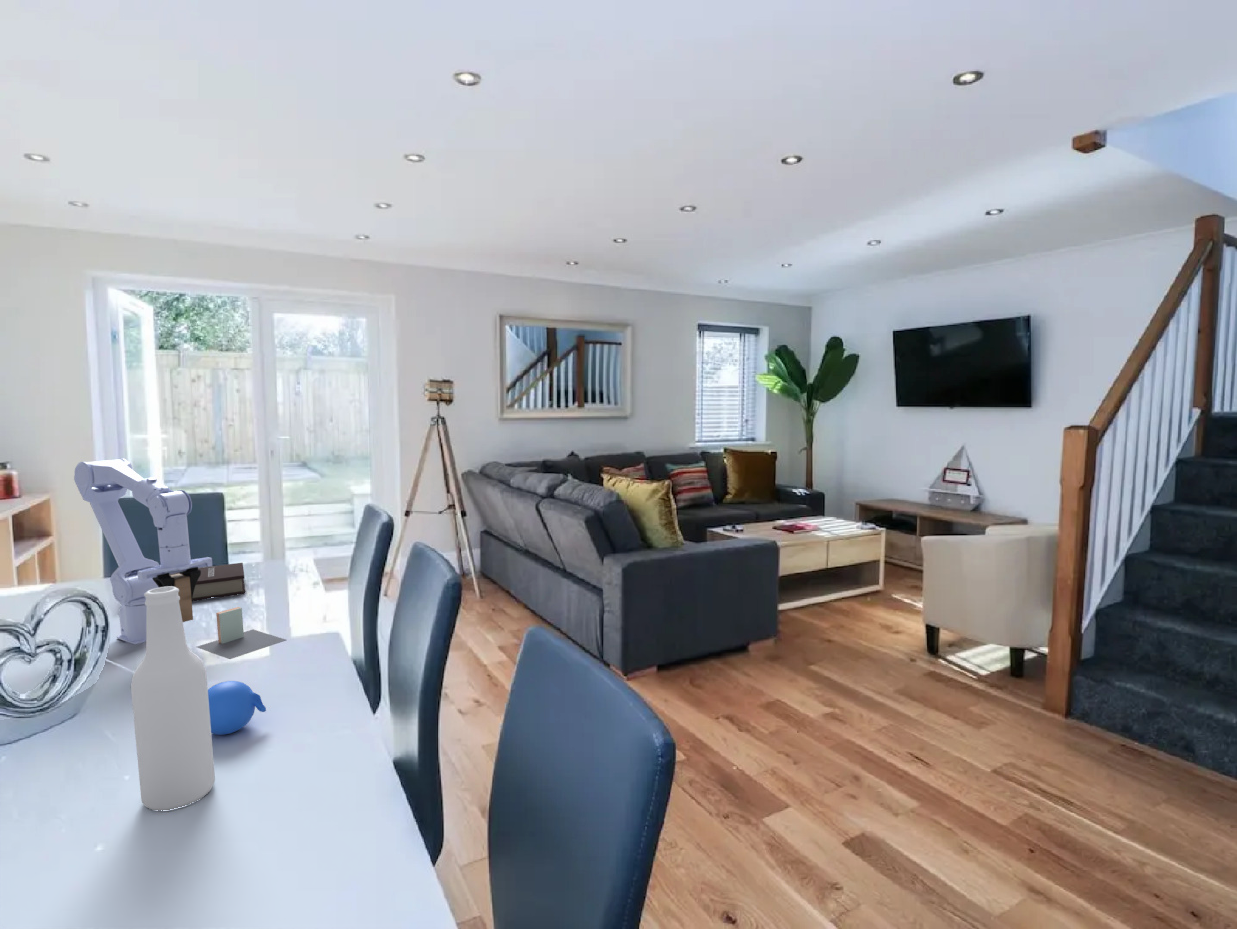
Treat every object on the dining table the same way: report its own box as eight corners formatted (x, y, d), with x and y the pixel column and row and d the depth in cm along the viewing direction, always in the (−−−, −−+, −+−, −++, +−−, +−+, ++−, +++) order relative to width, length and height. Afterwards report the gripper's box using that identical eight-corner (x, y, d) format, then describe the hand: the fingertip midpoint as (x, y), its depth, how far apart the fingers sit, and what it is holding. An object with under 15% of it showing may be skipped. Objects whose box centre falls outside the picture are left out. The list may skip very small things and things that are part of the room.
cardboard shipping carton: (168, 619, 154) (164, 576, 152) (182, 615, 156) (178, 573, 155) (178, 623, 151) (175, 579, 150) (193, 619, 153) (189, 576, 152)
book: (243, 579, 211) (242, 561, 211) (245, 595, 195) (244, 575, 194) (134, 594, 197) (132, 574, 197) (126, 612, 181) (124, 590, 180)
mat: (196, 648, 152) (196, 646, 152) (253, 630, 163) (253, 629, 163) (229, 660, 145) (229, 658, 145) (287, 641, 156) (286, 639, 156)
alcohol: (134, 820, 90) (113, 603, 87) (150, 786, 98) (131, 585, 95) (210, 804, 94) (193, 594, 91) (219, 772, 102) (203, 578, 99)
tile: (218, 642, 155) (216, 612, 154) (240, 635, 159) (238, 606, 158) (222, 643, 154) (219, 613, 153) (243, 636, 158) (241, 607, 158)
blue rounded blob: (281, 707, 123) (278, 662, 122) (258, 739, 111) (254, 691, 110) (209, 713, 121) (205, 668, 120) (178, 747, 109) (174, 697, 108)
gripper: (145, 553, 143) (151, 615, 145) (216, 540, 155) (221, 598, 157) (131, 550, 147) (137, 610, 149) (201, 537, 159) (206, 593, 161)
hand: (179, 603), depth 153 cm, fingers closed on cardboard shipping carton, 3 cm apart
